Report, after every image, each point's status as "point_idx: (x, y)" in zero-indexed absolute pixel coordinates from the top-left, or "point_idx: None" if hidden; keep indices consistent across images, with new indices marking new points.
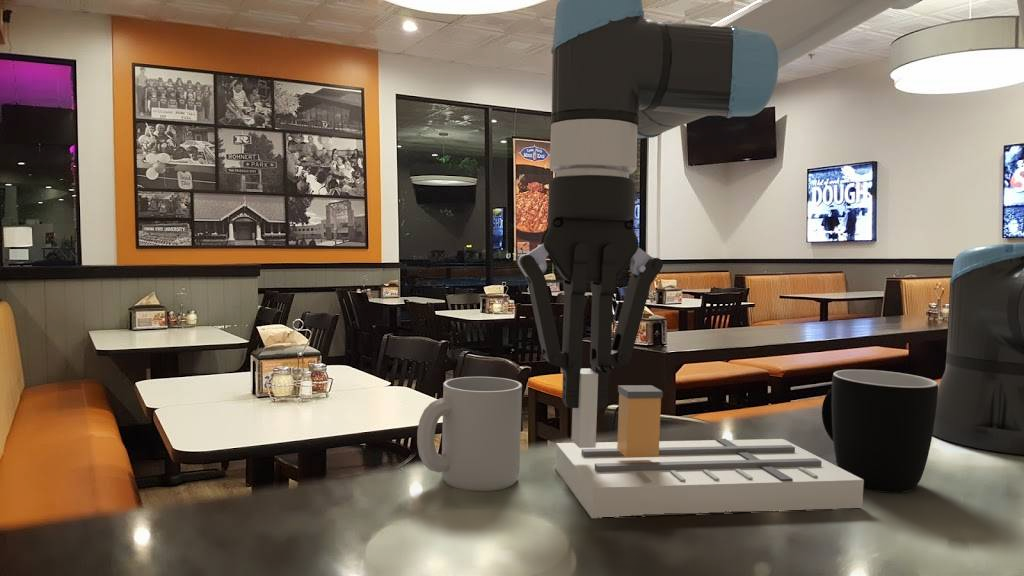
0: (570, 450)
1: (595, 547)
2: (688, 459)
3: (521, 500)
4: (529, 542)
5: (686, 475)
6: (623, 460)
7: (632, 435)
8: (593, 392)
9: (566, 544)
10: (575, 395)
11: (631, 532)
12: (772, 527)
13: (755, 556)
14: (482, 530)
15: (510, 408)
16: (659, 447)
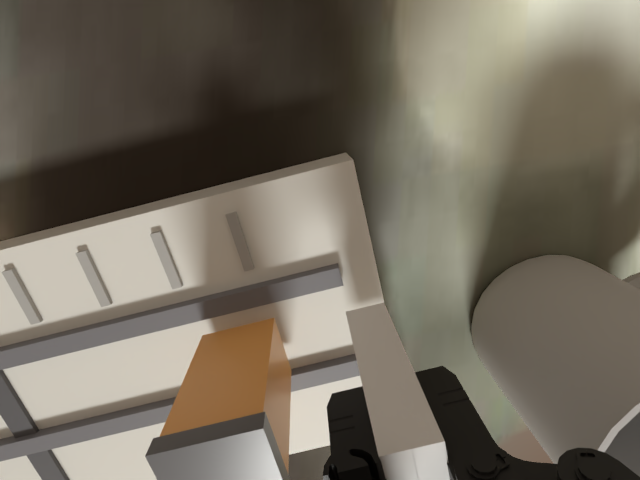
0: None
1: (345, 7)
2: (141, 375)
3: (468, 223)
4: (466, 14)
5: (148, 274)
6: None
7: (257, 348)
8: (380, 400)
9: (399, 14)
10: (433, 396)
11: (275, 94)
12: (7, 162)
13: (44, 6)
14: (548, 62)
15: (593, 369)
16: None
